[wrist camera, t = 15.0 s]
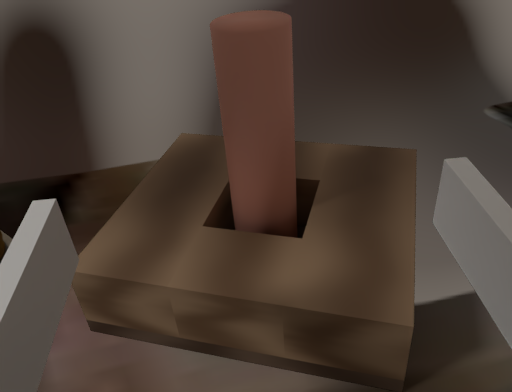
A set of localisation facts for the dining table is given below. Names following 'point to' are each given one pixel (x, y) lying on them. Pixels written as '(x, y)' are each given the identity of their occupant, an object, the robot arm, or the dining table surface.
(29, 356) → the robot arm
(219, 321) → the socket block
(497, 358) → the dining table surface
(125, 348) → the dining table surface
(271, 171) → the peg
